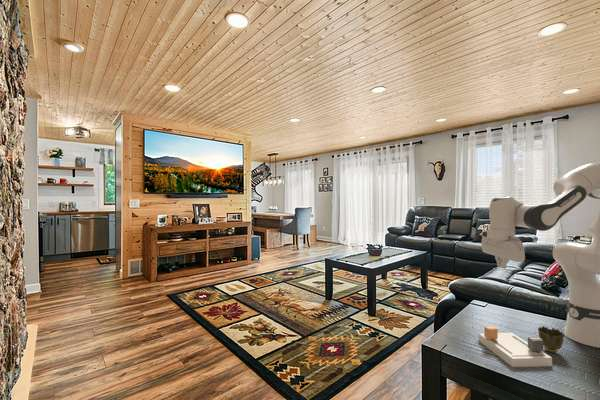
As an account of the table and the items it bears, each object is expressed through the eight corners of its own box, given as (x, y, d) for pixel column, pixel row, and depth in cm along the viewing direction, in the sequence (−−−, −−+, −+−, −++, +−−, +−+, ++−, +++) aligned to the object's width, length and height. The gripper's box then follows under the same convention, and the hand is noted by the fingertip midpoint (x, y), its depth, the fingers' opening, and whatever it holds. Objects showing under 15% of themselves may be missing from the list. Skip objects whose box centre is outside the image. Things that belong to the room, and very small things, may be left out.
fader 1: (493, 336, 113) (493, 325, 113) (497, 339, 110) (497, 328, 110) (484, 336, 113) (484, 326, 113) (488, 339, 110) (488, 328, 110)
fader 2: (537, 347, 104) (537, 336, 104) (543, 351, 102) (543, 340, 101) (527, 348, 104) (527, 336, 104) (533, 351, 101) (533, 340, 101)
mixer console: (511, 339, 116) (511, 332, 116) (552, 366, 98) (552, 357, 98) (478, 340, 116) (478, 333, 116) (512, 367, 98) (512, 358, 98)
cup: (563, 350, 108) (563, 330, 108) (564, 359, 102) (564, 337, 102) (538, 344, 113) (538, 324, 113) (537, 351, 107) (537, 331, 107)
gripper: (529, 238, 108) (529, 274, 108) (492, 231, 129) (492, 262, 129) (513, 238, 108) (513, 274, 108) (478, 231, 129) (478, 262, 129)
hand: (501, 267), depth 119 cm, fingers closed
